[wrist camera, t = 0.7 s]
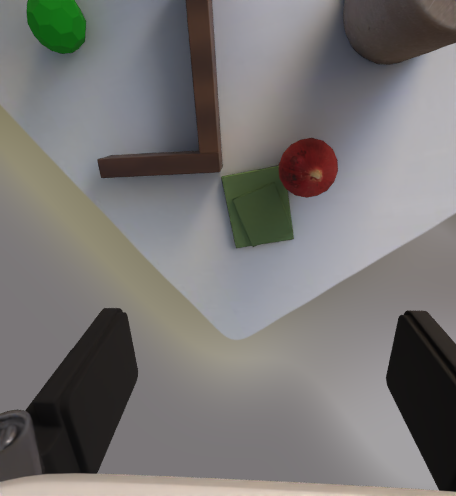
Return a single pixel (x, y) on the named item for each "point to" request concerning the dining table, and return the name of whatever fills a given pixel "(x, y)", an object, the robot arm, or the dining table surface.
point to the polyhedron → (57, 24)
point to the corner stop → (205, 105)
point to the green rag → (258, 207)
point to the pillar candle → (399, 27)
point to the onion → (308, 167)
